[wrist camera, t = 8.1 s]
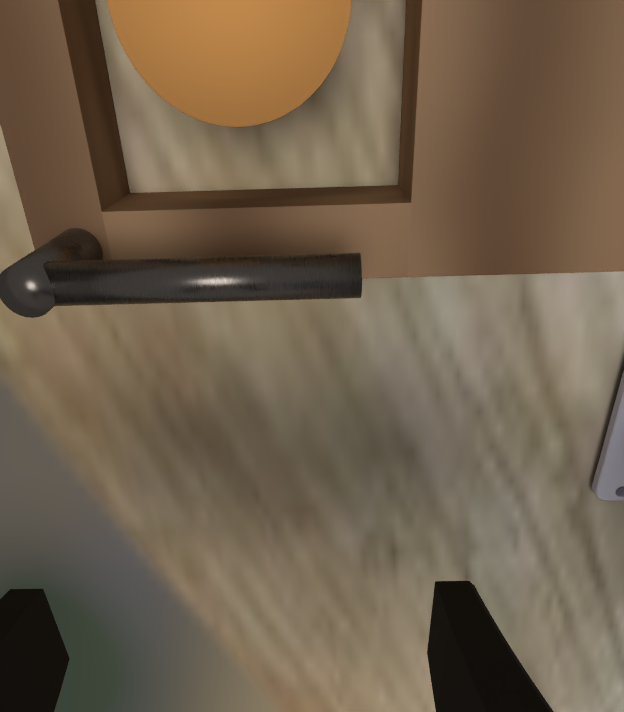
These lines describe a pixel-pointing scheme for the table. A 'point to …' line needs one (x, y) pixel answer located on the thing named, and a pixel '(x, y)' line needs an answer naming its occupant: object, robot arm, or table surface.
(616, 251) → the brown square frame
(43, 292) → the hook
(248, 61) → the orange rounded capsule
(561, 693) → the table surface
